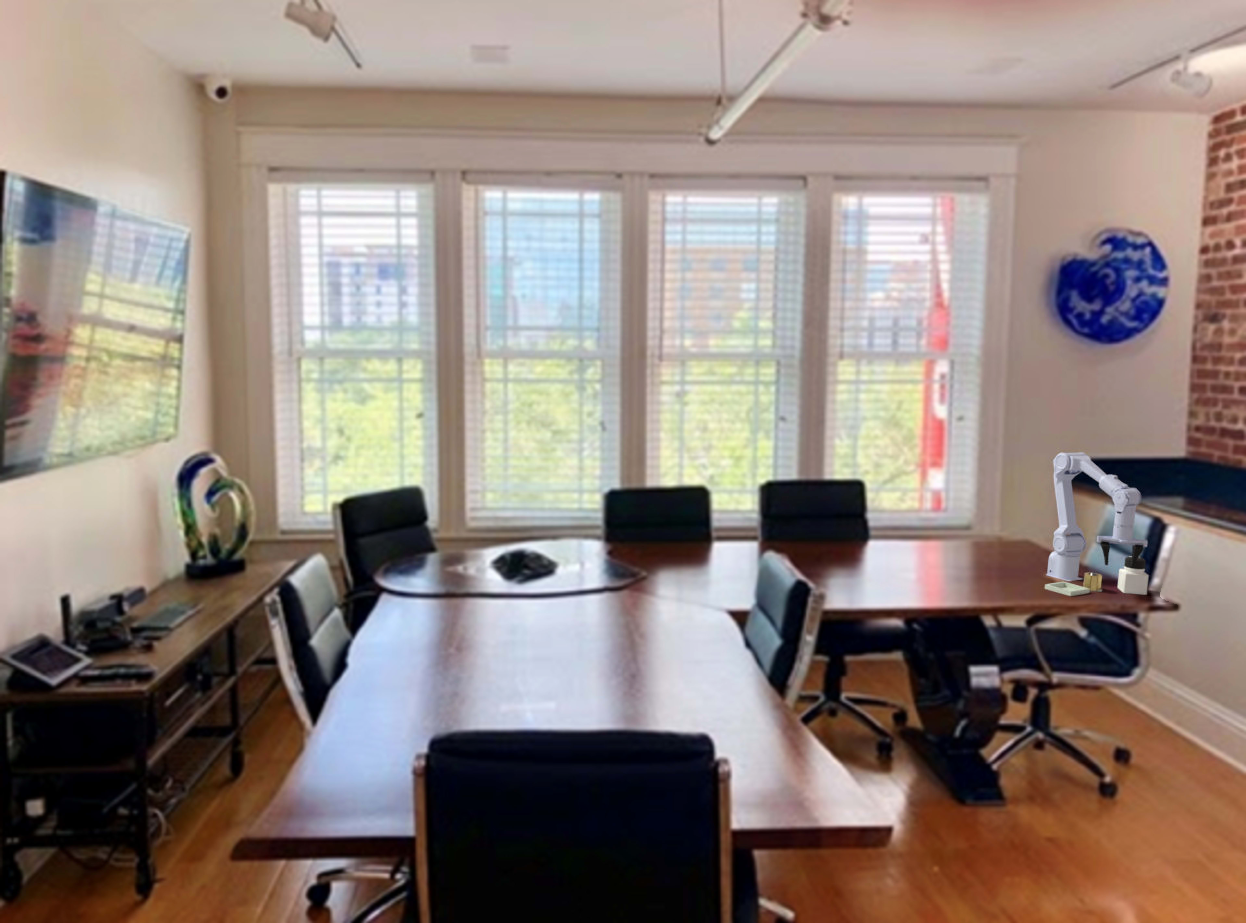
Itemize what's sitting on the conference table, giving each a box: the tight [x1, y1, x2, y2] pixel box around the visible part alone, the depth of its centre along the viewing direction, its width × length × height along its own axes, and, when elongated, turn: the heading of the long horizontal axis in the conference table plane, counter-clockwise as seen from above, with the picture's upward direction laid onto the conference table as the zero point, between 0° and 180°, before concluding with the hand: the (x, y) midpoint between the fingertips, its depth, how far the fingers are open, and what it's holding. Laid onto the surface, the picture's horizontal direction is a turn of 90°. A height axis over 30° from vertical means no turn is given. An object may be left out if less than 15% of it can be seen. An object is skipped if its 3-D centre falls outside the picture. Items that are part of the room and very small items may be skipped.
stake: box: [1090, 572, 1103, 593], centre depth 321 cm, size 6×6×6 cm
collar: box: [1082, 572, 1103, 592], centre depth 321 cm, size 5×6×5 cm
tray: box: [1044, 581, 1091, 597], centre depth 318 cm, size 10×10×2 cm
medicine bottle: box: [1117, 555, 1150, 596], centre depth 319 cm, size 7×7×12 cm
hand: (1119, 565), depth 315 cm, fingers open, 7 cm apart
